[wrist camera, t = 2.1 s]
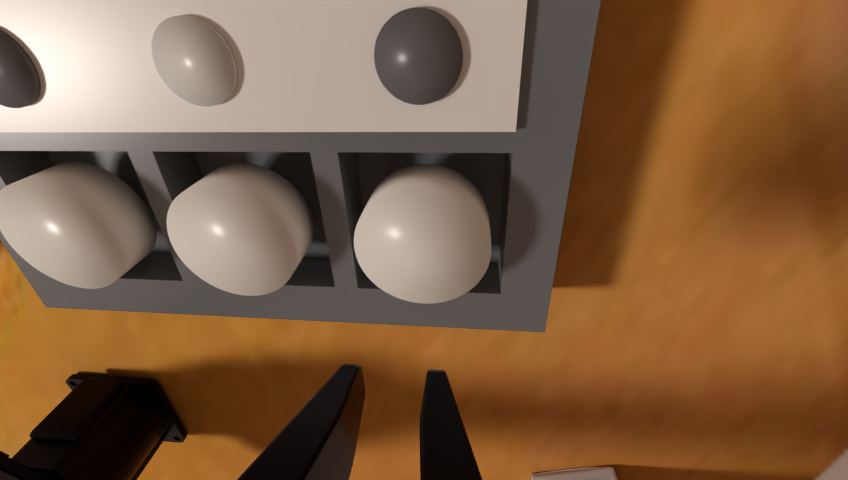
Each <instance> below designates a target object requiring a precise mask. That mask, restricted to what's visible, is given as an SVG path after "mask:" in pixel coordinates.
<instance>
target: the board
mask: <svg viewBox="0 0 848 480" xmlns="http://www.w3.org/2000/svg"><path fill="white" fill-rule="evenodd" d="M600 4H601V0H0V190H1V189H2V188H4V187H5V186H7V185H9V184H12V183H14V182H17V181H19V180H21V179H24V178H26V177H29V176H31V175H33V174H36V173H38V172H40V171H43V170H45V169H48V168H50V167H52V166H55V165H57V164H60V163H64V162H72V161H74V162H83V163H88V164H92V165H95V166H98V167H100V168H102V169H105V170H107V171H108V172H110V173H112V174H114V175H115V176H117V177H118V178H120V179H121V180H123V181H124V182H125V183H127V184H128V185H129V186H130V187H131V188H132V189H133V190H134V191H135V192H136V193H137V194H138V195H139V196H140V197H141V199H142V200H143V201H144V202H145V204H146V205H147V207H148V209H149V210H150V212H151V214H152V216H153V219H154V222H155V225H156V231H157V239H156V243H155V246H154V248H153V250H152V251H151V252H150V253H149V254H148V255H147V256H146V257H144V258H143V259H142V260H141V261H140V262H138V263H137V264H136V265H135V266H133V267H132V268H131V269H130V270H128V271H127V272H126V273H125V274H124V275H122V276H121V277H120V278H119V279H117V280H116V281H115V282H114V283H112V284H111V285H109V286H106V287H103V288H97V289H86V288H79V287H74V286H71V285H67V284H64V283H62V282H59V281H57V280H55V279H53V278H51V277H49V276H47V275H45V274H43V273H42V272H40V271H39V270H37V269H36V268H34V267H33V266H32V265H30V264H29V263H28V262H27V261H25V260H24V259H23V258H22V257H21V256H20V255H19V254H18V253H17V252H16V251H15V250H14V249H13V248H12V247H11V246H10V244H9V243H8V242H7V240H6V239H5V238H4V236H3V234H2V233H1V231H0V240H1V241H2V243H3V244H4V246H5V247H6V249H7V250H8V252H9V253H10V255H11V256H12V258H13V259H14V261H15V262H16V263H17V265H18V266H19V268H20V269H21V271H22V272H23V274H24V275H25V277H26V278H27V280H28V281H29V282H30V284H31V285H32V287H33V288H34V290H35V291H36V293H37V294H38V296H39V297H40V299H41V300H42V301H43V303H44V304H45V306H46V307H52V308H72V309H92V310H112V311H132V312H152V313H172V314H192V315H211V316H231V317H251V318H271V319H291V320H311V321H331V322H351V323H371V324H391V325H411V326H431V327H451V328H471V329H491V330H510V331H530V332H545V327H546V321H547V315H548V309H549V303H550V298H551V292H552V286H553V280H554V274H555V268H556V262H557V256H558V251H559V245H560V239H561V233H562V227H563V221H564V215H565V209H566V203H567V198H568V192H569V186H570V180H571V174H572V168H573V162H574V156H575V151H576V145H577V139H578V133H579V127H580V121H581V115H582V109H583V103H584V98H585V92H586V86H587V80H588V74H589V68H590V62H591V56H592V51H593V45H594V39H595V33H596V27H597V21H598V15H599V9H600ZM231 163H250V164H255V165H259V166H262V167H265V168H267V169H270V170H272V171H274V172H276V173H277V174H279V175H281V176H282V177H284V178H285V179H286V180H288V181H289V182H290V183H291V184H292V185H293V186H294V187H295V188H296V189H297V190H298V191H299V192H300V194H301V195H302V196H303V198H304V199H305V201H306V203H307V204H308V206H309V208H310V211H311V213H312V217H313V222H314V236H313V241H312V243H311V246H310V247H309V249H308V251H307V252H306V254H305V256H304V257H303V259H302V260H301V262H300V263H299V265H298V267H297V268H296V270H295V271H294V273H293V274H292V276H291V278H290V279H289V280H288V281H287V283H286V284H285V285H283V286H282V287H281V288H279V289H278V290H276V291H274V292H271V293H269V294H265V295H258V296H245V295H238V294H233V293H230V292H226V291H224V290H221V289H218V288H216V287H214V286H212V285H210V284H209V283H207V282H205V281H204V280H202V279H201V278H200V277H198V276H197V275H196V274H194V273H193V272H192V271H191V270H190V269H189V268H188V267H187V266H186V265H185V264H184V263H183V262H182V260H181V259H180V258H179V256H178V255H177V253H176V252H175V250H174V248H173V246H172V244H171V242H170V239H169V236H168V232H167V223H166V220H167V213H168V210H169V207H170V205H171V203H172V202H173V200H174V199H175V198H176V197H177V196H178V195H179V194H180V193H181V192H183V191H184V190H186V189H187V188H189V187H190V186H192V185H193V184H195V183H196V182H197V181H199V180H200V179H202V178H203V177H205V176H206V175H208V174H209V173H210V172H212V171H213V170H215V169H217V168H218V167H221V166H223V165H226V164H231ZM418 164H431V165H438V166H443V167H446V168H449V169H452V170H454V171H456V172H458V173H460V174H461V175H463V176H464V177H466V178H467V179H468V180H470V181H471V182H472V183H473V184H474V185H475V186H476V187H477V189H478V190H479V191H480V193H481V194H482V196H483V198H484V200H485V202H486V205H487V208H488V212H489V220H490V235H491V258H490V262H489V266H488V268H487V270H486V272H485V274H484V276H483V277H482V279H481V280H480V281H479V282H478V283H477V285H476V286H475V287H473V288H472V289H471V290H470V291H468V292H467V293H465V294H463V295H462V296H460V297H457V298H455V299H452V300H449V301H445V302H441V303H432V304H423V303H414V302H409V301H405V300H402V299H399V298H396V297H394V296H392V295H390V294H388V293H386V292H384V291H383V290H381V289H380V288H379V287H377V286H376V285H375V284H374V283H373V282H372V281H371V280H370V279H369V278H368V277H367V276H366V274H365V273H364V272H363V270H362V268H361V267H360V265H359V263H358V260H357V258H356V254H355V250H354V233H355V229H356V225H357V223H358V220H359V218H360V216H361V214H362V212H363V210H364V208H365V206H366V204H367V202H368V200H369V198H370V196H371V194H372V193H373V191H374V189H375V188H376V186H377V185H378V184H379V183H380V182H381V181H382V180H383V179H384V178H385V177H386V176H388V175H389V174H391V173H392V172H394V171H396V170H399V169H401V168H404V167H407V166H411V165H418Z"/></svg>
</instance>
